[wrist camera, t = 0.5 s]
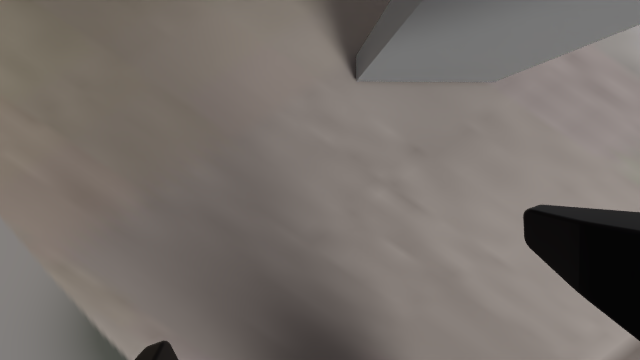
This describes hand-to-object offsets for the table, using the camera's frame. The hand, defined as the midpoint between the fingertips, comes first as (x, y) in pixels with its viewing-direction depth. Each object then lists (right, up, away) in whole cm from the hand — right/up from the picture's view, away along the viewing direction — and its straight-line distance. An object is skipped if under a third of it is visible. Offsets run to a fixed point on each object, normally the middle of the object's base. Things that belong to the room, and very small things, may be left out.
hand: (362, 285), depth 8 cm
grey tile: (+6, +10, +15) cm, 19 cm away
